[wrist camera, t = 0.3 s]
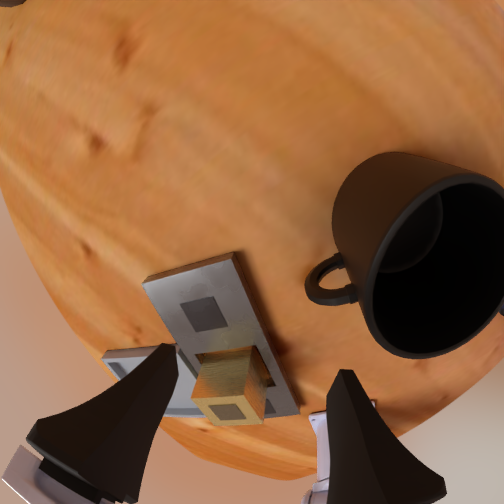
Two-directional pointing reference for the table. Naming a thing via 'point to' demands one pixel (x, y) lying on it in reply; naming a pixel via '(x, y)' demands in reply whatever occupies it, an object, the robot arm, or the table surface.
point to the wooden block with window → (232, 387)
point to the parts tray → (180, 401)
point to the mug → (417, 253)
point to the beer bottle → (10, 3)
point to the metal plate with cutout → (219, 320)
